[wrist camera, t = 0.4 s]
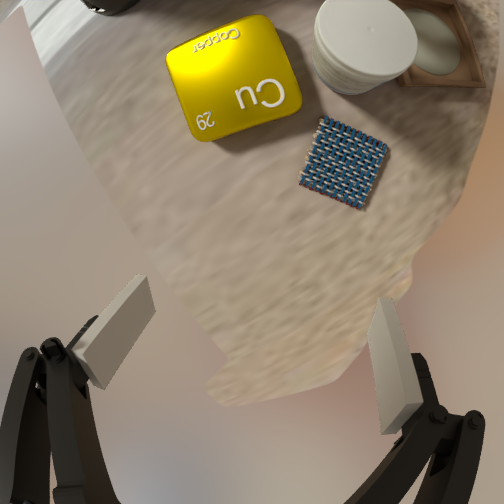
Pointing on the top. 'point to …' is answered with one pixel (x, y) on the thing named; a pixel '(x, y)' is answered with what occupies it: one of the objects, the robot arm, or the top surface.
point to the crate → (440, 46)
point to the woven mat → (342, 163)
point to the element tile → (233, 78)
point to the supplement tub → (361, 44)
